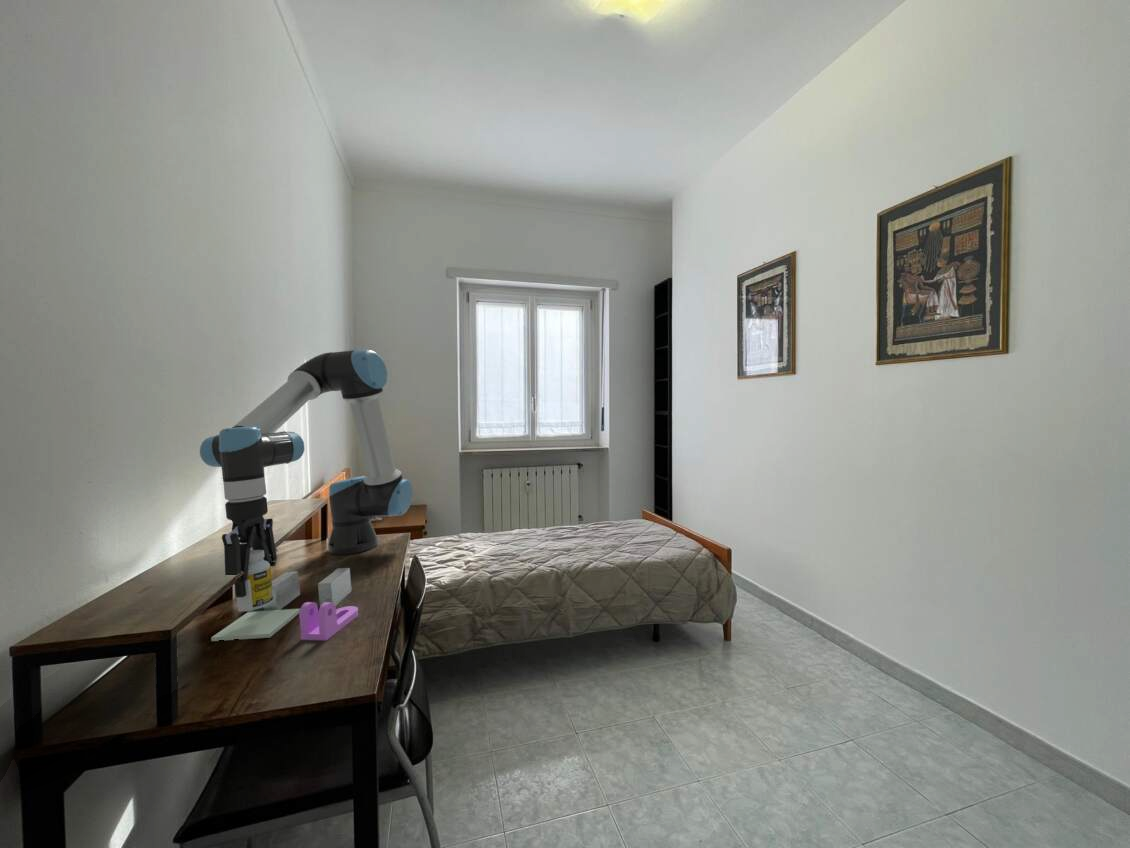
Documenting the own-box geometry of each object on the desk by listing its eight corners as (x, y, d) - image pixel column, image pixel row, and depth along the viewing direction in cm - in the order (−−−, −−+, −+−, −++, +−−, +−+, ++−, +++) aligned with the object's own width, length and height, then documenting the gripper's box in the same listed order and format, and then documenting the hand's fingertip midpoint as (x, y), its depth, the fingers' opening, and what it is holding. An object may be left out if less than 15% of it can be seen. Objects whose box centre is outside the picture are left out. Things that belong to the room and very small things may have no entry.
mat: (248, 615, 113) (248, 611, 113) (300, 611, 113) (300, 608, 113) (211, 641, 101) (211, 637, 101) (269, 637, 101) (269, 633, 101)
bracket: (326, 641, 98) (323, 607, 98) (301, 640, 99) (298, 606, 98) (363, 612, 111) (360, 582, 110) (341, 611, 112) (338, 582, 111)
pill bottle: (248, 613, 102) (243, 559, 101) (232, 608, 105) (227, 555, 104) (279, 601, 108) (275, 549, 107) (263, 597, 111) (258, 546, 110)
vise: (268, 596, 124) (265, 573, 123) (351, 591, 124) (349, 567, 123) (242, 613, 114) (239, 588, 113) (333, 608, 114) (330, 582, 113)
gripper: (256, 491, 115) (265, 587, 116) (194, 509, 95) (206, 625, 97) (288, 489, 115) (297, 585, 116) (233, 507, 95) (244, 622, 97)
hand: (256, 603), depth 106 cm, fingers closed on pill bottle, 6 cm apart
